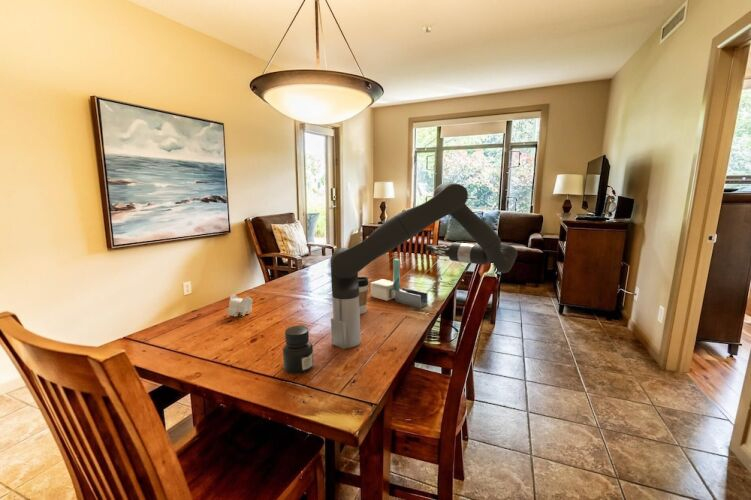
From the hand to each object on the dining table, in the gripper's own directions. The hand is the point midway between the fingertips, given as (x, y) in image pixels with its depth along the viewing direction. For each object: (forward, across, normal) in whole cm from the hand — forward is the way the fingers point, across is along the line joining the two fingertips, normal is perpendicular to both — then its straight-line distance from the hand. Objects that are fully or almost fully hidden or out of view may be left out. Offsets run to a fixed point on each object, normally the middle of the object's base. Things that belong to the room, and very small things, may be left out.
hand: (426, 247), depth 145 cm
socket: (+25, -2, +28) cm, 37 cm away
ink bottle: (+1, +66, +29) cm, 72 cm away
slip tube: (+20, -2, +27) cm, 34 cm away
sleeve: (+9, -2, +28) cm, 29 cm away
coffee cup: (+20, +21, +28) cm, 40 cm away
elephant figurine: (+57, +56, +30) cm, 86 cm away
